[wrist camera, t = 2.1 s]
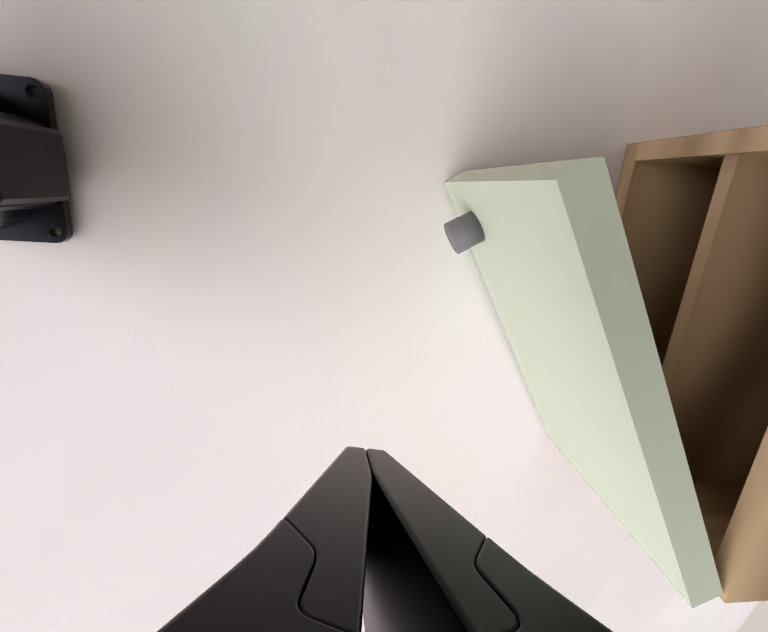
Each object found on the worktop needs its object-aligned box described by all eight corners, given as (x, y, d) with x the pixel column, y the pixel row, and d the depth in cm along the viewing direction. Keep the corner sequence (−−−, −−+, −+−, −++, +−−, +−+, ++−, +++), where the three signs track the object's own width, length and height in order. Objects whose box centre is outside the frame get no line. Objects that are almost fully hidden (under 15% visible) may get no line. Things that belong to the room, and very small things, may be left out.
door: (531, 450, 25) (663, 630, 15) (420, 193, 20) (509, 203, 10) (567, 432, 25) (725, 602, 15) (465, 170, 20) (604, 155, 9)
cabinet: (562, 428, 25) (725, 603, 15) (628, 144, 20) (936, 101, 10) (681, 428, 26) (912, 591, 16) (770, 157, 21) (1185, 133, 11)
